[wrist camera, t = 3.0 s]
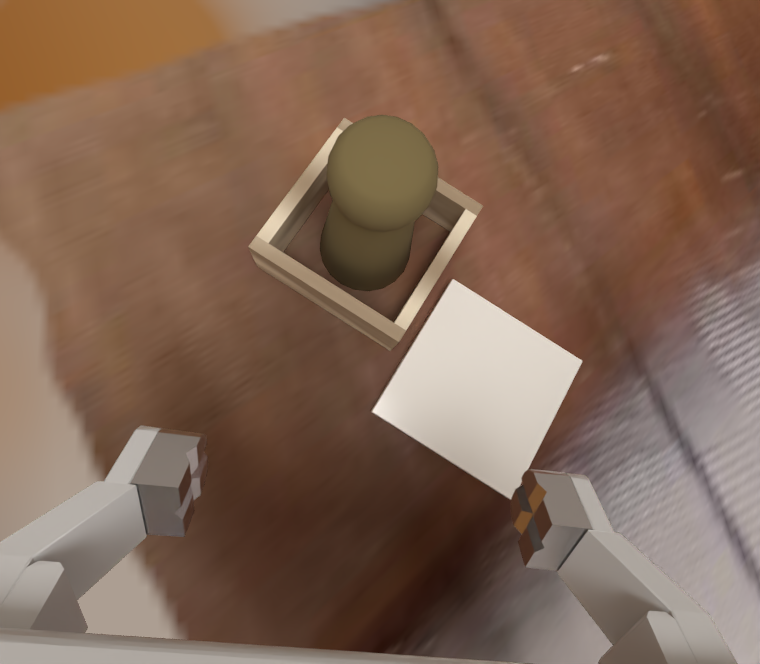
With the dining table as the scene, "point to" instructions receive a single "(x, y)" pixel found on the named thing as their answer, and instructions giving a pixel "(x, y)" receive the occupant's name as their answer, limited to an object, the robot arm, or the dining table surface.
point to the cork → (376, 200)
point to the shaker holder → (268, 255)
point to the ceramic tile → (478, 388)
